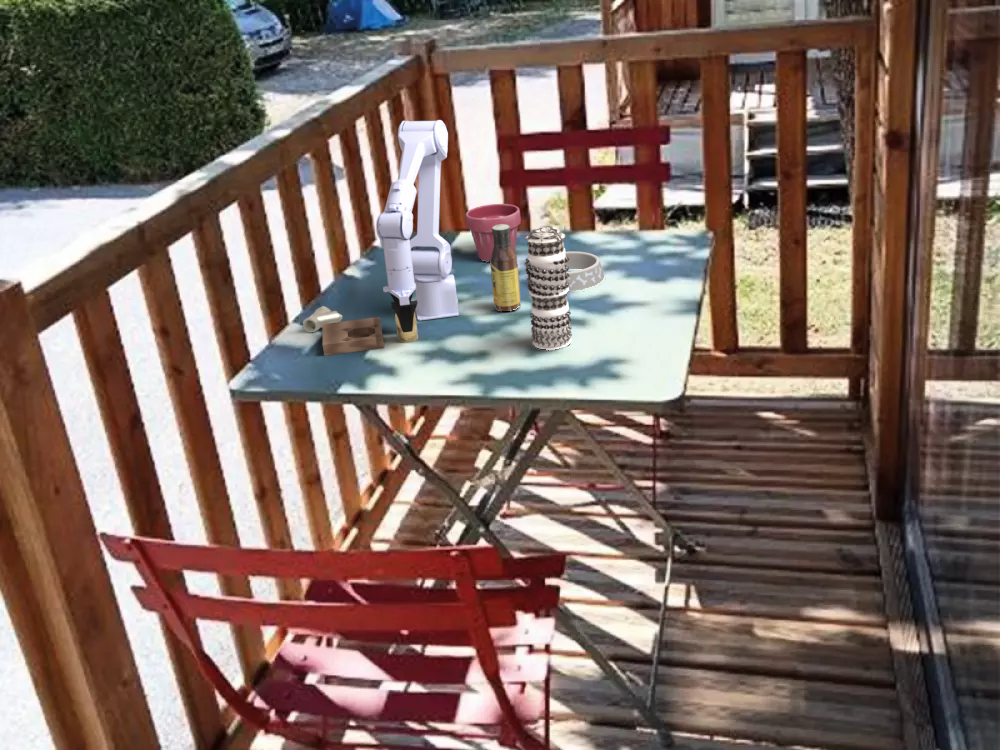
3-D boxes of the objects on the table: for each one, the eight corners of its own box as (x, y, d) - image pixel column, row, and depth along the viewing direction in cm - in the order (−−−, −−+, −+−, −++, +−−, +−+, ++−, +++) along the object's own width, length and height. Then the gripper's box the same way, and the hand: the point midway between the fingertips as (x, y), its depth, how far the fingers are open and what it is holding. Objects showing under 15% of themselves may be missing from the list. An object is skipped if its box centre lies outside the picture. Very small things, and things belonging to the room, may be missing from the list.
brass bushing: (417, 334, 252) (414, 308, 250) (418, 341, 248) (415, 315, 246) (397, 336, 252) (394, 311, 250) (398, 343, 248) (395, 318, 246)
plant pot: (458, 260, 299) (454, 213, 294) (497, 246, 308) (493, 200, 303) (495, 270, 289) (491, 221, 284) (534, 255, 298) (531, 208, 293)
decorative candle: (568, 332, 246) (561, 220, 236) (578, 347, 238) (571, 232, 228) (527, 338, 245) (518, 226, 235) (535, 353, 237) (527, 238, 227)
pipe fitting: (345, 323, 264) (318, 320, 266) (344, 307, 263) (317, 304, 264) (330, 336, 257) (303, 333, 259) (329, 320, 256) (302, 317, 258)
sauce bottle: (497, 303, 266) (490, 222, 258) (523, 303, 265) (517, 221, 257) (491, 313, 260) (484, 230, 252) (518, 313, 259) (511, 230, 251)
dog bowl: (584, 297, 266) (583, 276, 264) (517, 289, 275) (516, 268, 273) (617, 275, 279) (616, 254, 277) (552, 267, 288) (550, 247, 286)
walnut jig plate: (381, 327, 258) (379, 316, 257) (384, 347, 246) (382, 337, 245) (324, 334, 257) (322, 324, 256) (324, 355, 245) (322, 345, 244)
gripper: (379, 258, 250) (386, 316, 255) (382, 279, 236) (390, 339, 242) (410, 255, 250) (417, 312, 256) (416, 274, 237) (422, 335, 243)
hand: (406, 325), depth 249 cm, fingers open, 7 cm apart
